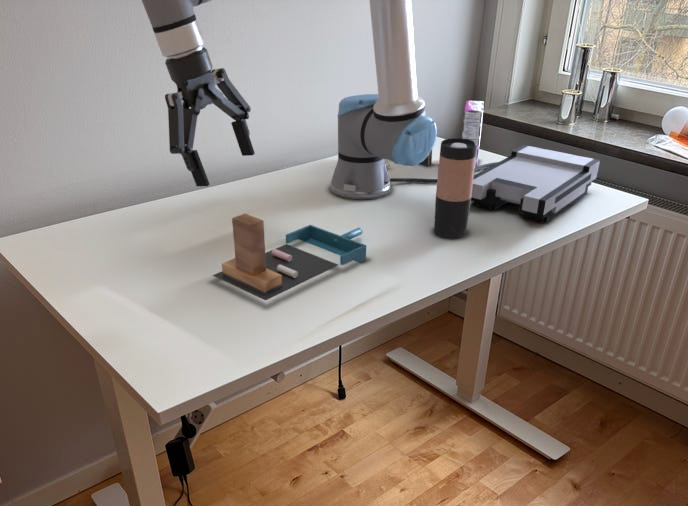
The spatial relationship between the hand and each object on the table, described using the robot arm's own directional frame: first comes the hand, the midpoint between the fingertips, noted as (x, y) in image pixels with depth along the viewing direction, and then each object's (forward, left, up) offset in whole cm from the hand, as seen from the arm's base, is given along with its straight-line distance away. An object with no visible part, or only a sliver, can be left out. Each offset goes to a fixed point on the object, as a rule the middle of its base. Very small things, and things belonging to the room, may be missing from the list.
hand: (226, 169), depth 132 cm
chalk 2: (-8, +10, -18) cm, 22 cm away
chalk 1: (-9, +3, -18) cm, 20 cm away
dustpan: (-23, 0, -20) cm, 30 cm away
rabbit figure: (-52, -49, -20) cm, 75 cm away
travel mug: (-49, +2, -20) cm, 53 cm away
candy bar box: (-78, -37, -20) cm, 89 cm away
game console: (-78, -8, -20) cm, 81 cm away
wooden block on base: (0, +10, -19) cm, 21 cm away
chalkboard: (-6, +8, -20) cm, 22 cm away
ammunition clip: (-66, -46, -20) cm, 83 cm away
